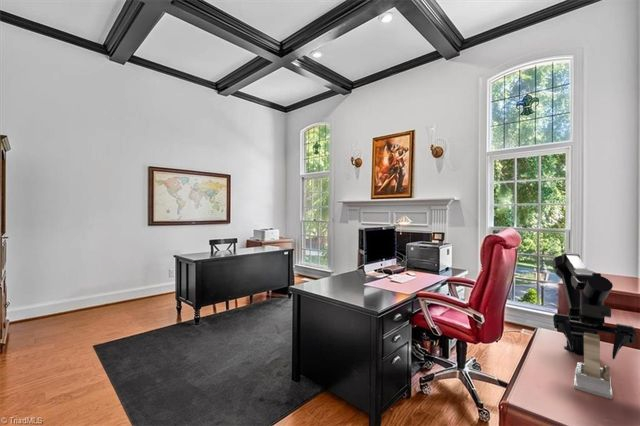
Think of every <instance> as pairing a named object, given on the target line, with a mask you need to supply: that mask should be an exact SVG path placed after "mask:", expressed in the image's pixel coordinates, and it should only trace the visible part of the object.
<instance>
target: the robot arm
mask: <svg viewBox="0 0 640 426" xmlns="http://www.w3.org/2000/svg"><path fill="white" fill-rule="evenodd" d="M551 267H552V269H553V270H554V272H555V275H556V276H557V277H558V278H560V279H561V281H562V285H563V289H564V294H565V297H566V301H567V306H568V309H569V310H568V311H567V314H562V313H554V314H553V316H552V319H553V320H552V321H553V328H554V329H556V330H558V331H559V332H560V333H563V336H564V337H565V339H566V346H563V348H564V349H565V350H568V351H570V352H572V353H573V354H574V355H577V356H584V332H585V333H591V334H596V335H598V332H600V333H604V334H609V335H614V341H613V346H612V352H611V353H612V354H611V356H612V360H615V359H616V357H617V355H618V353H619V351H620V350H621V349H622V348H623V347H624V345H625V346H629V345H630V344H632V345H634V344H635V343H636V337H637V332H636V328H635V327H634V326H633V325H627V324H622V323H621V324H620V323H616V324H615V327H613V326H606V325H605V323H606V321H605V318H609V319H611V318H612V307H611V306H610V305H607V304H604V300H607V298H608V296H609V295H610V293H611V291H612V289H613V282H612V281H610V279H608V278H607V277H604V276H602V274H601V272H600V273H597V272H595V271H593V270H589V269H588V268H587V266H586V265H585V264H584V262H583V260H581V256H580V254H578V253H574V252H573V253H570V252H569V253H568V252H565V253H562V254H561V255H558V256H555V257H554V258H553V259H552V261H551Z"/></svg>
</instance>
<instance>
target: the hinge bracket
mask: <svg viewBox="0 0 640 426" xmlns="http://www.w3.org/2000/svg"><path fill="white" fill-rule="evenodd" d="M574 371H575V373H574V380H573V381H574V382H573V389H575V390H579V391H582V392H586V393H589V394H593V395H596V396H599V397H602V398H607V399H608V400H609V399H610V400H613V389H612V382H611V373H610V366H608V365H605V364H604V365H602V367H600V378H598V377H594V376H590V375H586V374H584V362H580V361H579V362H578V361H577V363H576V365H575V370H574Z"/></svg>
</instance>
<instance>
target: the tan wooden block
mask: <svg viewBox="0 0 640 426" xmlns="http://www.w3.org/2000/svg"><path fill="white" fill-rule="evenodd" d="M600 337H601V336H600V334H597V335H596V334H591V333H585V332H584V355H583V363H584V374H586V375H590V376H594V377H598V378H600V368H601V347H600V346H601V341H600V340H601V339H600Z"/></svg>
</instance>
